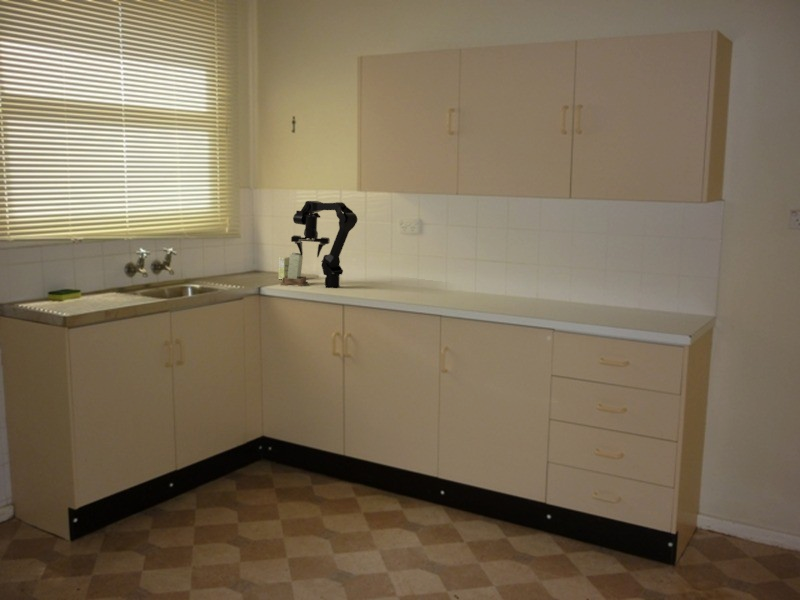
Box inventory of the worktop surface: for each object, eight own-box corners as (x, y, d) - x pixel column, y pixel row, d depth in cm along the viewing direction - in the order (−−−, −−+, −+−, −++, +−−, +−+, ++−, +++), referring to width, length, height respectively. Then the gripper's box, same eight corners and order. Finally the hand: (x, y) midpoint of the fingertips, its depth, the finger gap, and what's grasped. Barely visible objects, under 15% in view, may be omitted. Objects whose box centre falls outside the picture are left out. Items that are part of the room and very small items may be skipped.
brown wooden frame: (307, 283, 409) (308, 276, 409) (304, 286, 400) (304, 279, 399) (284, 282, 410) (284, 275, 410) (280, 285, 400) (280, 278, 400)
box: (295, 278, 428) (295, 256, 427) (300, 279, 424) (301, 257, 422) (278, 279, 422) (278, 257, 420) (283, 280, 418) (284, 258, 416)
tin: (300, 281, 407) (303, 254, 408) (296, 280, 402) (299, 253, 403) (290, 281, 408) (293, 254, 409) (287, 279, 403) (290, 252, 404)
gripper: (331, 225, 412) (330, 256, 415) (295, 223, 413) (294, 253, 416) (328, 227, 401) (327, 258, 404) (291, 225, 402) (290, 256, 405)
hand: (309, 256), depth 408 cm, fingers open, 8 cm apart
